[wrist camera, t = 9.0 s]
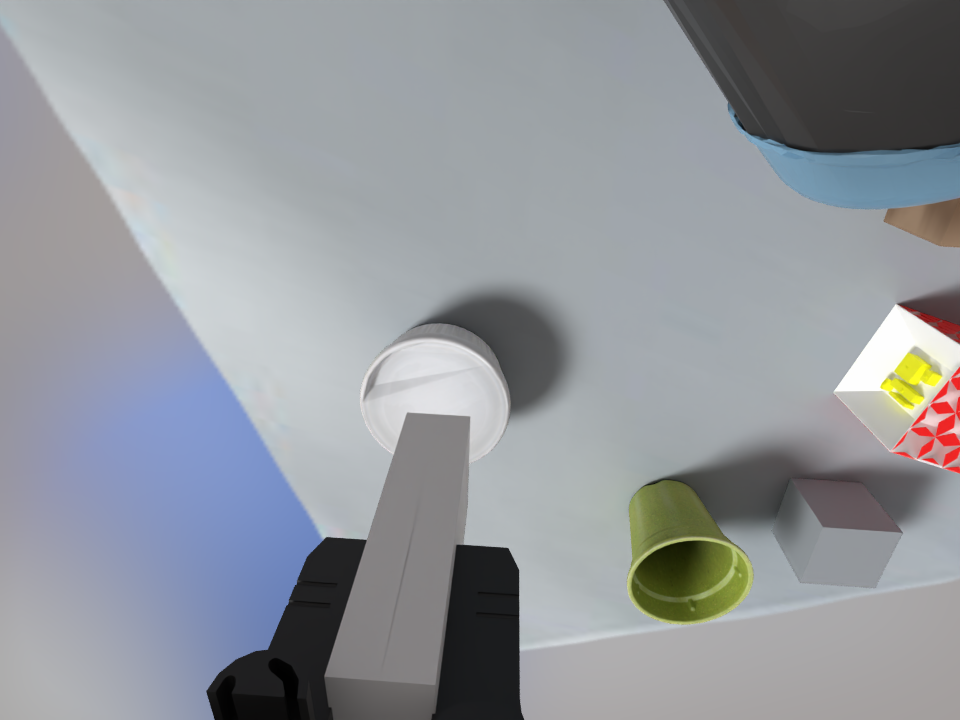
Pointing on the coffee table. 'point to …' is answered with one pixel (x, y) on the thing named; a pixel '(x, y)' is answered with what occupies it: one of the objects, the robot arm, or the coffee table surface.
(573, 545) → the coffee table surface
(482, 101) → the coffee table surface
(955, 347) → the puzzle cube
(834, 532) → the slate grey block
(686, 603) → the plant pot
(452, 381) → the ramekin
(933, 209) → the walnut block
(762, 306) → the coffee table surface
